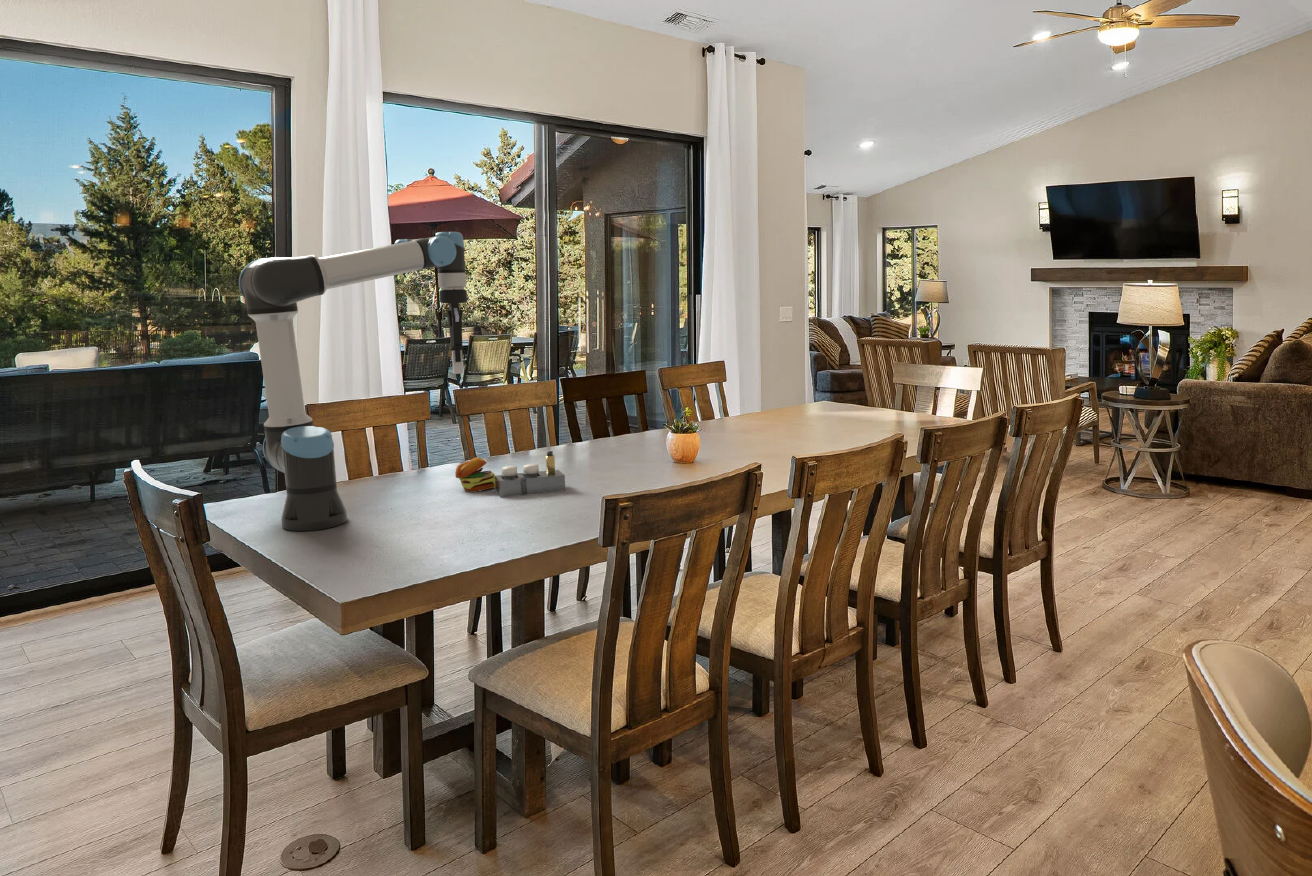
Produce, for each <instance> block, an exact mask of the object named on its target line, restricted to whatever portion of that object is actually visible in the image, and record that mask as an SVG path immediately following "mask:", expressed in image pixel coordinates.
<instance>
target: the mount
mask: <svg viewBox="0 0 1312 876" xmlns="http://www.w3.org/2000/svg"><path fill="white" fill-rule="evenodd" d="M565 476H566V475H565V474H564V473H563V472H562V471H561V470H560V469H555V474H547V472H546V470H541V471H540V470H539V473H537V476H534V477H526V474H524V472H520V473H518V472H517V475H515V478H513V479H504V476H502V474H498V475H497V474H496V475H495V487H496V488H495V492H496V494H497V495H498V496H499V498H508V497H518V496H519V497H521V496H529V495H538V494H547V493H558V492H565V491H566V478H565Z"/></svg>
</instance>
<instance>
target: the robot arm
mask: <svg viewBox="0 0 1312 876" xmlns="http://www.w3.org/2000/svg"><path fill="white" fill-rule="evenodd" d="M465 249H466V248H465V242H464V237H463V234H462V233H461V232H460V231H459V232H458V231H440V232H436V233H435V236H432V237H431V236H430V237H425V238H423V237H422V238H417V239H416V238H415V239H411V238H405V239H404V238H403V239H396V240H395V242H394V244H389V245H383V246H377V247H373V248H367V249H362V250H356V251H351V252H346V253H340V254H334V255H329V256H324V257H317V256H316V255H314V254H309V255H305V256H295V257H294V256H293V257H292V256H291V257H287V256H286V257H284V256H283V257H279V256H274V257H263V258H257V259H255V260H252V261H251V262H250V263H248V264H246V265H245V266H244V267H243V268H242V270H241V272H240V273H239V278H238V288H239V292H240V293H241V295H242V297H243V299H245V304H246V311H247V317H249V318H250V319H252V320H253V321H254V322H255V326H256V335H257V340H258V341H257V342H258V348H259V355H260V363H261V368H262V370H261V371H262V376H263V382H264V390H265V396H266V398H265V399H266V403H267V404H266V405H267V411H268V418H267V419H266V421H264V423H263V429H264V436H265V437H264V439H263V443H262V452H263V455H264V458H265V460H266V462H267V463H268V464H269V465H270V466H271V467H272V468H273V469H275V470H277V471H278V472H281V473H283V474H284V479H285V489H286V498H285V502H284V506H283V511H282V514H281V526H282V527H281V528H283V529H284V530H286V531H295V532H307V531H310V532H311V531H317V530H318V531H319V530H325V529H328V528H329V529H331V528H333V527H337V526H340V525H342V524H345V523H346V522H347V521H348V513H347V510H346V507H345V505H344V503H343V500H342V498H341V496H340V494H339V492H338V485H337V484H338V483H337V474H336V472H337V471H336V464H335V463H336V461H335V451H334V449H335V444H334V439H333V435H332V431H330V430H329V429H327V428H325V427H321V426H314V423H313V418H312V417H311V416H309V415H308V414H307V413H306V409H305V403H304V402H305V401H304V394H303V387H302V380H301V379H302V378H301V373H300V365H299V358H298V350H297V342H296V335H295V329H294V321H293V319H294V317H295V316H297V314H298V313H299V307H298V303H299V302H301V301H304V300H306V299H311V298H313V297H318V296H322V295H324V294H326V291H327V290H330V289H335V288H341V287H344V286H349V285H354V284H359V283H363V282H368V281H373V280H378V279H383V278H384V279H385V278H388V277H392V276H397V275H402V274H407V273H411V272H417V271H422V270H427V269H433V268H437V279H438V280H437V283H438V284H437V285H438V288H439V289H440V290H439V291H438V293H439V303H441V304H448V309H447V310H446V316H447V325H448V329H449V340H450V345H449V346H450V348H449V351H450V352H451V357H452V358H451V360H452V373H453V375H459V374H464V362H463V361H464V360H463V350H464V345H463V326H462V325H463V309H460V304H466V303H468V290H467V289H465V288H466V287H467V281H466V280H468V279H469V277H468V276H466V261H465V258H466V257H465V256H466V255H465Z"/></svg>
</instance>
